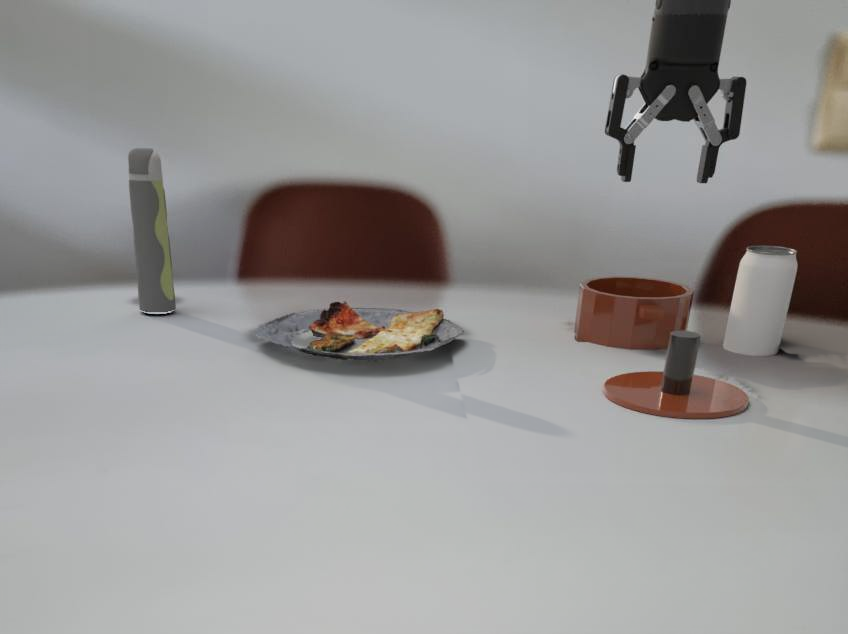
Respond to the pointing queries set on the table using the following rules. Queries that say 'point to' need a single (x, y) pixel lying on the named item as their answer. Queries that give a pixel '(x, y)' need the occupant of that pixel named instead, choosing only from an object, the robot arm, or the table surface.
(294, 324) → the food plate
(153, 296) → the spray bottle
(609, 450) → the table surface
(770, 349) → the can
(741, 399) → the cover
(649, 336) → the dish
